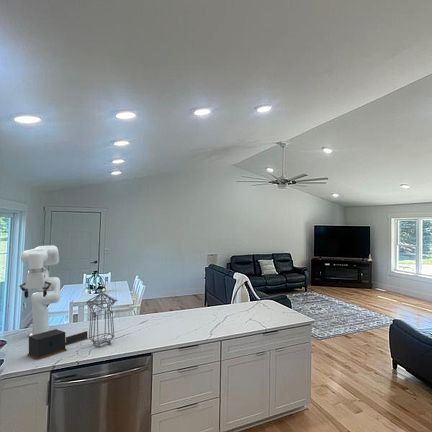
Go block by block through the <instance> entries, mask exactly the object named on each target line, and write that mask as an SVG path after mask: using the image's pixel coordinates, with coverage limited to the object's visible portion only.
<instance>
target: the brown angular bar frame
mask: <svg viewBox="0 0 432 432" xmlns="http://www.w3.org/2000/svg"><path fill="white" fill-rule="evenodd" d="M87 339H88V330H85V331H81V332H78V333H75V334H72V335H69V336H68V335H67V336H65V346H68V345H71V344H74V343H78V342H80V341H84V340H87Z"/></svg>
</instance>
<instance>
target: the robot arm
mask: <svg viewBox="0 0 432 432" xmlns="http://www.w3.org/2000/svg"><path fill="white" fill-rule="evenodd" d="M59 253H60V252H59V248H58V247H57V246H56V245H39V246H37V247H35V248H32V249H27V250H23V252H22V253H21V254H20V255H21V256H20V260H21V262H22V263H24V264H28V273H27V275H26V279H25V282H24V283H22V284H20V285H19V288H20V290H21V291H23V292H24V298H25V299H27V298H29V290H32V289H33V290H35V291H37V292H34V293H32V294H31V296H30V302H31V306H32V307H31V308H32V309H31V311H32V322H31V323H32V324H31V325H32V328H31V329H32V332H31V333H29V336H32V335H35V334H39V333H43V332H47V331H51V330H50V329H49V308H48V307H47V305H51V304H57V303H59V302H60V300H61V279H60V278H59V277H58V276H50V271H49V270H48V269H47V268H46V267H45V266H57V265H58V264H59V262H60V254H59ZM24 286H25V287H24Z"/></svg>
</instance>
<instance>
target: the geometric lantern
mask: <svg viewBox="0 0 432 432" xmlns="http://www.w3.org/2000/svg"><path fill="white" fill-rule="evenodd" d="M107 299H108V300H109V302H107ZM118 301H119V300H118V299H116V298H115V297H112V296H111V295H109V294H107V293H105V292H101V293H99V294H96V295H95V296H94V297H92V298H90V299H89V300H87V301H85V303H86V304H87V306H88V307H89V310H90V315H89V316H90V317H89V330H88V339H89V340H90V341H91V342H92V343H93V345H94V346H95V347H96V348H101V347H105V346H108V345H111V341H112V340H113V339H114V338H115V327H114V311H113V307H112V306H114V305H115V303H116V302H118ZM104 305H106V306H104ZM93 307H94V308H93ZM97 307H98V308H100V310H98V311H95V309H96V308H97ZM106 308H107V309H106ZM103 311H104V313H101V314H99V313H100V312H103ZM107 311H108V312H107ZM96 313H97V314H96ZM99 316H104V333H101V334H99ZM94 317H96V318H94ZM109 317H110V318H109ZM93 322H94V323H93ZM106 325H107V326H106ZM106 327H107V328H106ZM96 328H97V329H96ZM106 329H108V332H106V331H107V330H106ZM110 329H111V330H110ZM95 331H96V333H97V334H96V333H95ZM110 332H111V333H110ZM103 335H104V336H103ZM106 335H107V336H106ZM99 336H103V338H99ZM108 336H111V337H109V338H108ZM95 338H97V339H96V340H95ZM104 343H107V344H104ZM96 344H97V345H96ZM101 344H103V345H101Z"/></svg>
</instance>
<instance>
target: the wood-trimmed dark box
mask: <svg viewBox="0 0 432 432" xmlns="http://www.w3.org/2000/svg"><path fill="white" fill-rule="evenodd" d="M65 343H66V331H63V330H61V329H57V328H55V329H51V330H50V331H47V332H43V333H39V334H35V335H32V336H30V335H29V336H28V353H27V356H28V357H31V358H33V359H34V360H41V359H44V358H48V357H50V356H53V355H57V354H59V353H63V352H66V351H67V348H66V345H65Z"/></svg>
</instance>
